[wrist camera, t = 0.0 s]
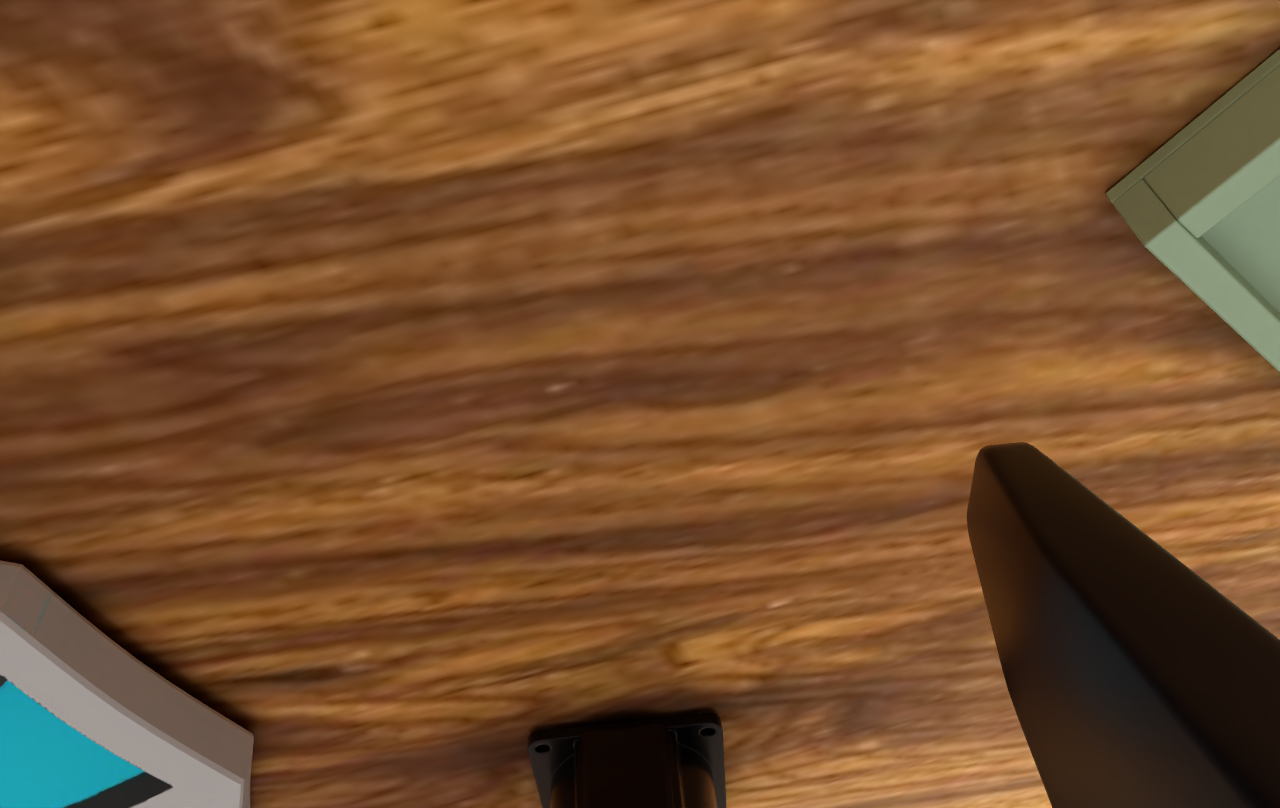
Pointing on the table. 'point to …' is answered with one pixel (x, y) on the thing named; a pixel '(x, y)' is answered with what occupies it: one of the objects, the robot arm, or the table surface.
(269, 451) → the table surface
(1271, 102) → the tray
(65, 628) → the decorative platform
